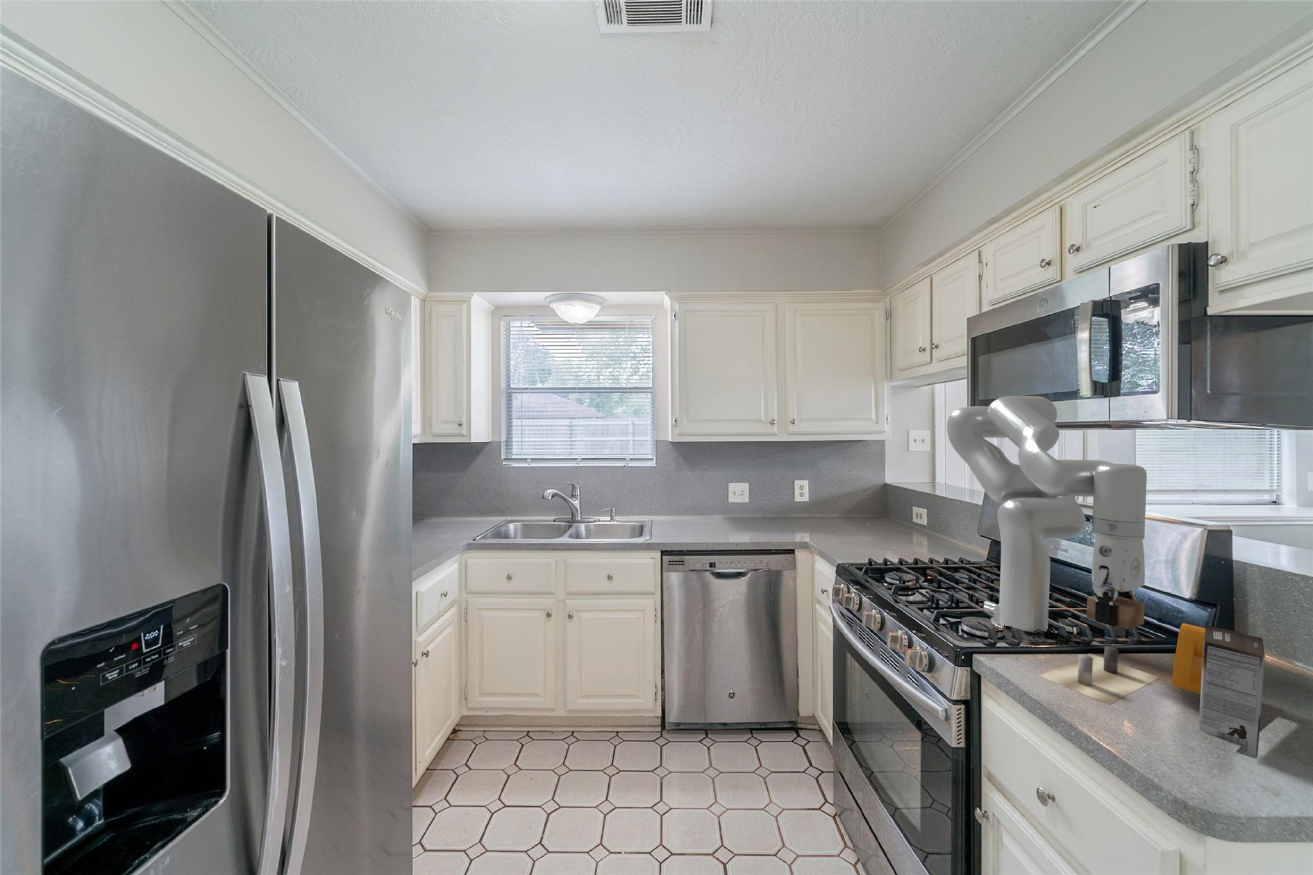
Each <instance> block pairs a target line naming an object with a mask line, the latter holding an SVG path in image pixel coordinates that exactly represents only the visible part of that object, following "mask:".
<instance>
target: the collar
mask: <svg viewBox="0 0 1313 875" xmlns="http://www.w3.org/2000/svg"><path fill="white" fill-rule="evenodd" d="M1108 594H1109V593H1108ZM1109 596H1111V593H1110V594H1109ZM1086 599H1087V600H1086V602H1087V603H1086V619H1089V620H1093V621H1095V605H1096V601H1095V594H1094V595H1091V596H1088V597H1086ZM1131 599H1132V598H1131ZM1131 599H1127V598H1123V597H1119V596H1117V598H1116V603H1115V605H1117V606H1118V613H1117V626H1116V627H1117V628H1120V629H1125V630H1131V629H1134V628H1136V627H1139V626H1141V625H1144V624H1145V603H1146V602H1143V601H1139V600H1136V599H1134V600H1131Z"/></svg>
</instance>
